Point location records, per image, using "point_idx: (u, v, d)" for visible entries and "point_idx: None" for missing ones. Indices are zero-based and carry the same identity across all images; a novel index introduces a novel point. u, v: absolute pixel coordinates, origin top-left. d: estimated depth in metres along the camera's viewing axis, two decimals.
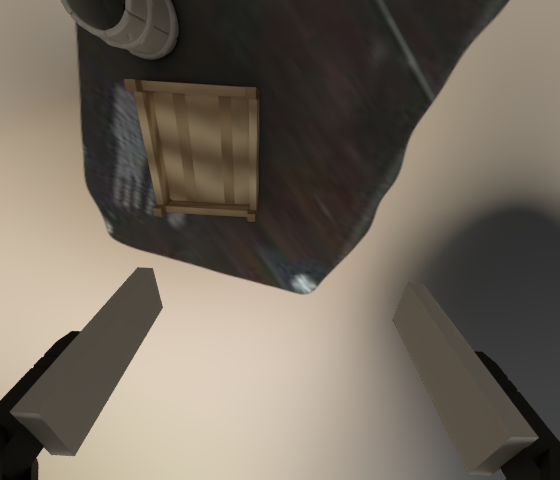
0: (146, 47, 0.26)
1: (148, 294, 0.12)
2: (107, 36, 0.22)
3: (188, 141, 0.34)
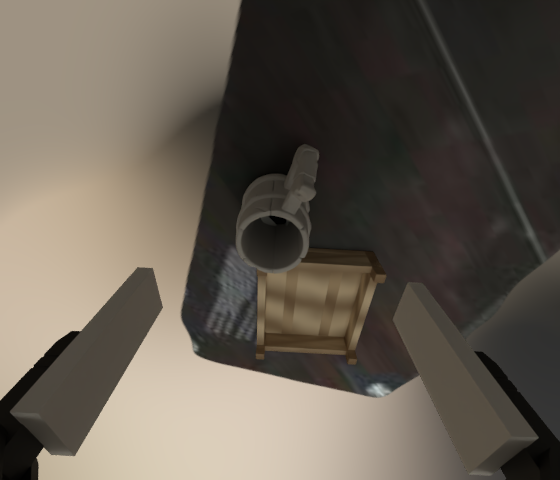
0: None
1: (148, 294, 0.12)
2: None
3: (294, 291, 0.35)
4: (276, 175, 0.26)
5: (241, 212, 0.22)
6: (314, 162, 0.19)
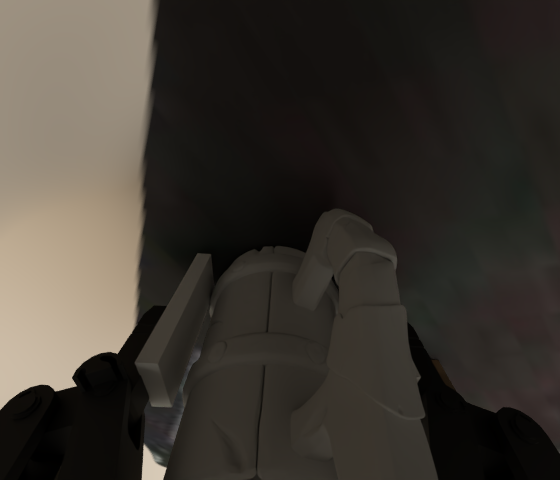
0: None
1: (208, 277, 0.13)
2: None
3: None
4: (276, 260, 0.12)
5: (189, 385, 0.09)
6: (400, 312, 0.06)
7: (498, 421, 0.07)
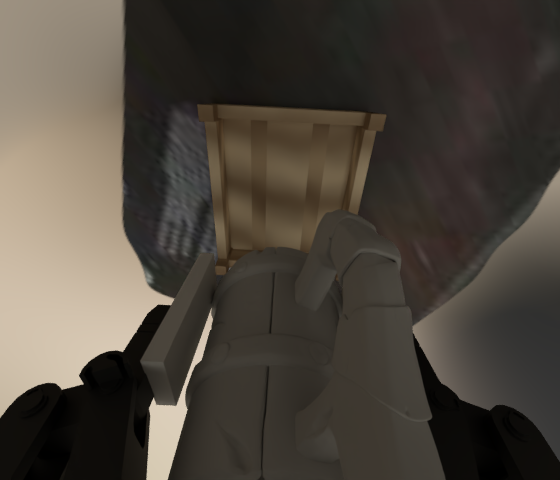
0: None
1: (211, 276, 0.13)
2: None
3: (264, 179, 0.26)
4: (278, 261, 0.12)
5: (192, 387, 0.09)
6: (405, 314, 0.06)
7: (492, 419, 0.07)
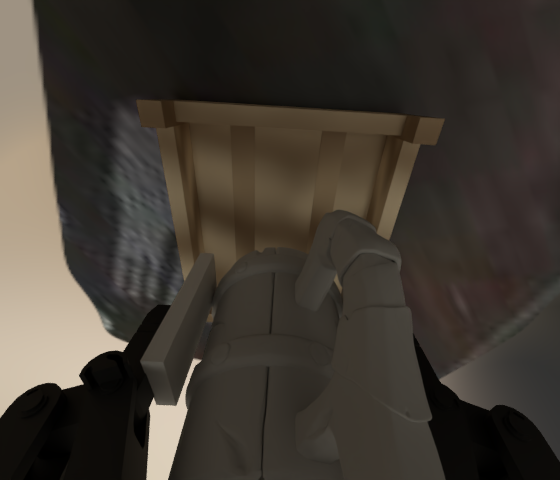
0: None
1: (211, 276, 0.13)
2: None
3: (251, 207, 0.19)
4: (278, 261, 0.12)
5: (192, 387, 0.09)
6: (405, 314, 0.06)
7: (492, 419, 0.07)
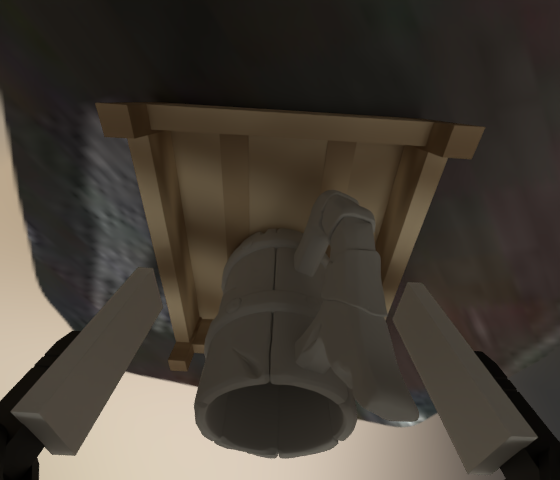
0: None
1: (148, 294, 0.12)
2: (279, 453, 0.11)
3: (245, 226, 0.16)
4: (279, 238, 0.14)
5: (210, 334, 0.11)
6: (374, 255, 0.08)
7: None
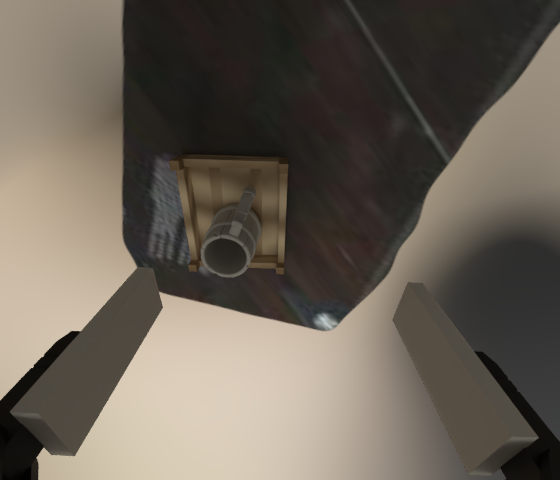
0: None
1: (148, 294, 0.12)
2: (230, 276, 0.32)
3: (221, 203, 0.37)
4: (233, 206, 0.35)
5: (205, 235, 0.32)
6: (248, 201, 0.29)
7: None
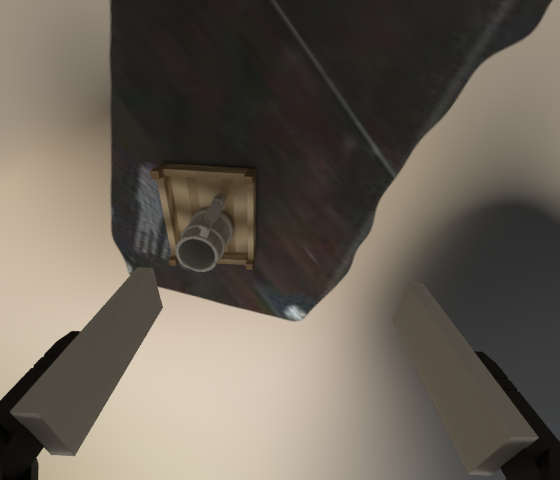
0: None
1: (148, 294, 0.12)
2: None
3: (198, 206, 0.42)
4: (208, 210, 0.41)
5: (181, 235, 0.37)
6: (215, 208, 0.34)
7: None
